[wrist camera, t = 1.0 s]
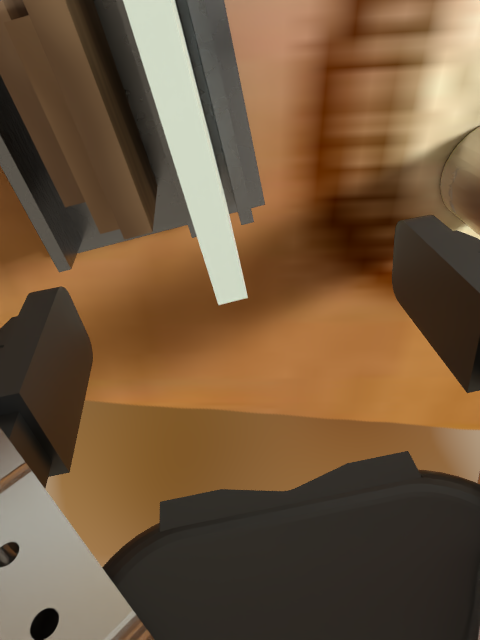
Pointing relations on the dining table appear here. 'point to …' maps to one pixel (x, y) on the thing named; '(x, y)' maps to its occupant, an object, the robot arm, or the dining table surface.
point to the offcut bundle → (77, 110)
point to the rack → (144, 135)
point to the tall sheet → (188, 138)
